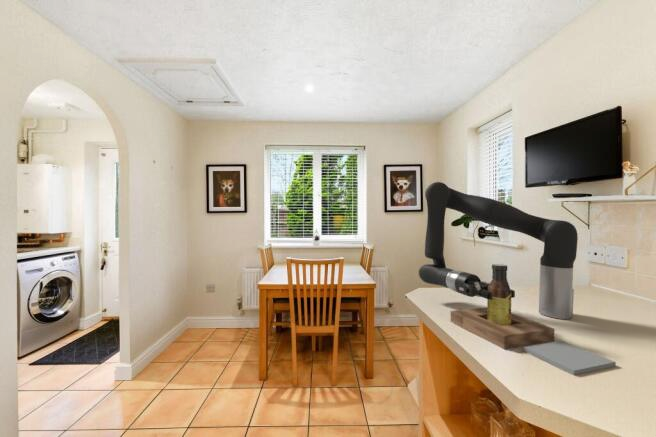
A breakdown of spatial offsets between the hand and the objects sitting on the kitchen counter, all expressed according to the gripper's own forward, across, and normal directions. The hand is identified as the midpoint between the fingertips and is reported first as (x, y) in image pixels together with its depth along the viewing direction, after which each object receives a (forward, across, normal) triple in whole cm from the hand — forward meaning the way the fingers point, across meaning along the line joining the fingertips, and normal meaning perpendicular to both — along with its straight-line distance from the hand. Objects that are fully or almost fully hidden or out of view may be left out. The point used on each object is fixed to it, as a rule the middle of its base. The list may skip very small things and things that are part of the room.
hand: (502, 295), depth 89 cm
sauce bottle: (-1, 0, +11) cm, 11 cm away
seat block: (-1, 0, +11) cm, 11 cm away
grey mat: (+17, +2, +11) cm, 20 cm away
